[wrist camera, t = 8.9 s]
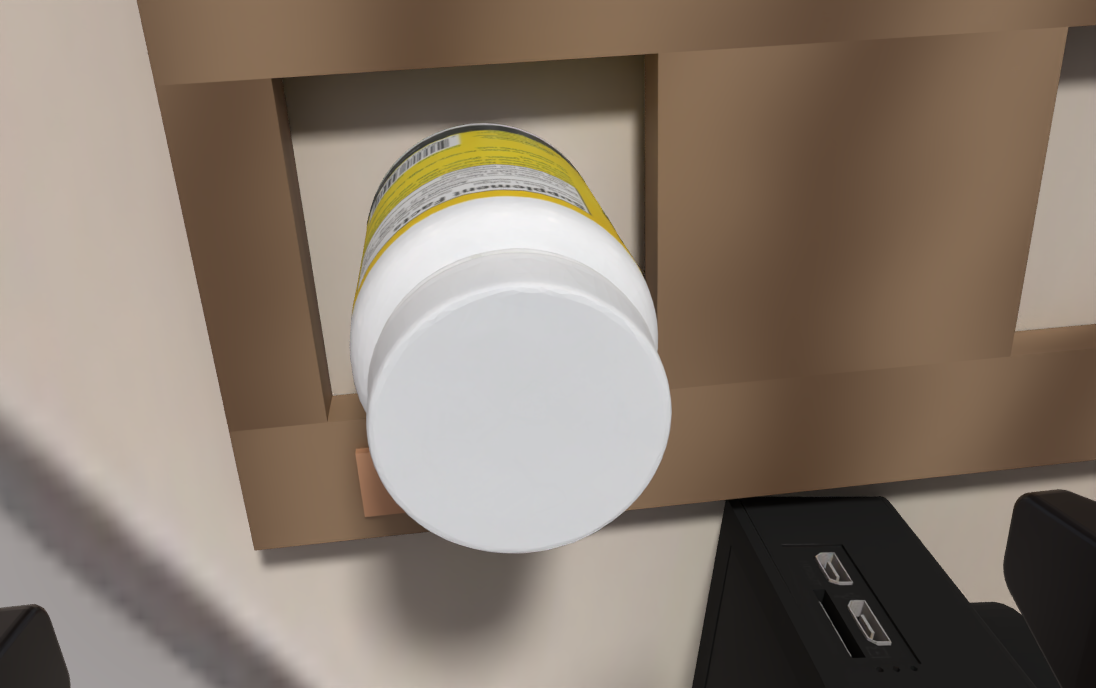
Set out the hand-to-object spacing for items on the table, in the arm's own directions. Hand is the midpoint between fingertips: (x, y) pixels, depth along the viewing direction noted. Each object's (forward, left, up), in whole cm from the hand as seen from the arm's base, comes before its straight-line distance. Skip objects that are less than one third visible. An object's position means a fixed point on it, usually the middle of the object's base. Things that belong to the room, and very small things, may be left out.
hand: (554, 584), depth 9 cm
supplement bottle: (0, 0, -12) cm, 12 cm away
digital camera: (-7, +13, -12) cm, 19 cm away
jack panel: (-7, 0, -12) cm, 14 cm away
